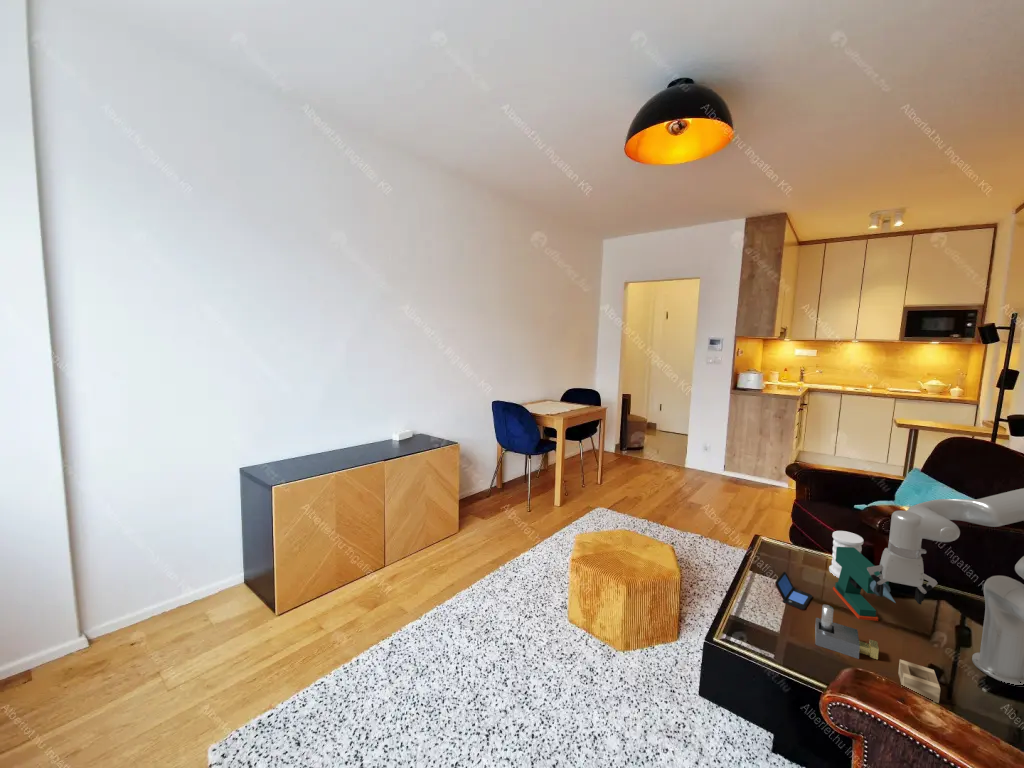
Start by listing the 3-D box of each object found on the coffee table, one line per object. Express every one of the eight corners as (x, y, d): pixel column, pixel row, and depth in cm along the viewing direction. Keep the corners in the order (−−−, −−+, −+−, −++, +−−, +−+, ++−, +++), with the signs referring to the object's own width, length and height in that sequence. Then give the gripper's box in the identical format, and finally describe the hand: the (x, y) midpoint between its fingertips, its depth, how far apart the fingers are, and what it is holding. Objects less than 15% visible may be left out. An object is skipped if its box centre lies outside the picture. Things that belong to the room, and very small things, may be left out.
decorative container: (842, 582, 183) (845, 544, 181) (822, 567, 195) (825, 530, 192) (868, 581, 183) (871, 542, 181) (847, 565, 195) (850, 529, 192)
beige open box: (932, 683, 132) (933, 669, 132) (938, 703, 126) (940, 688, 125) (898, 672, 137) (899, 659, 136) (902, 690, 131) (904, 676, 130)
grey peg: (830, 639, 152) (833, 606, 150) (831, 644, 150) (833, 611, 148) (819, 635, 154) (822, 603, 152) (820, 641, 152) (822, 608, 150)
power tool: (904, 647, 147) (909, 595, 144) (881, 645, 148) (886, 594, 145) (851, 590, 178) (854, 546, 175) (832, 589, 179) (835, 545, 176)
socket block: (856, 642, 150) (857, 629, 150) (858, 658, 143) (859, 645, 142) (815, 629, 157) (815, 617, 157) (815, 644, 150) (816, 632, 149)
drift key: (876, 651, 145) (877, 641, 145) (877, 659, 142) (878, 649, 142) (832, 638, 152) (833, 628, 152) (833, 645, 149) (834, 635, 148)
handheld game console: (803, 611, 167) (804, 594, 166) (773, 599, 175) (774, 583, 174) (813, 597, 175) (814, 581, 174) (783, 586, 183) (784, 570, 182)
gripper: (934, 549, 135) (928, 598, 137) (866, 538, 143) (861, 584, 145) (945, 561, 128) (939, 612, 131) (873, 549, 136) (868, 597, 139)
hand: (898, 597), depth 138 cm, fingers open, 9 cm apart
